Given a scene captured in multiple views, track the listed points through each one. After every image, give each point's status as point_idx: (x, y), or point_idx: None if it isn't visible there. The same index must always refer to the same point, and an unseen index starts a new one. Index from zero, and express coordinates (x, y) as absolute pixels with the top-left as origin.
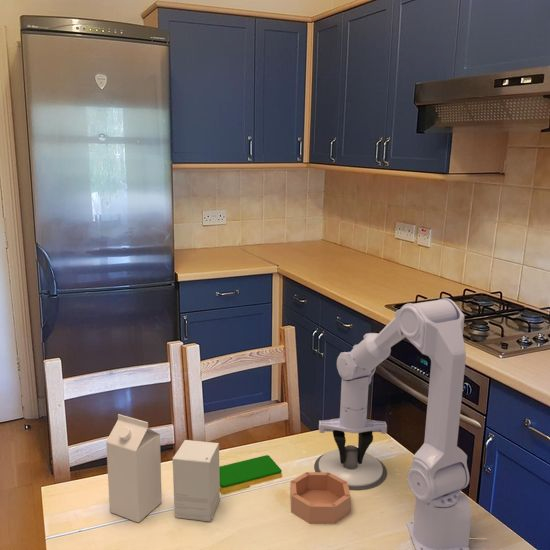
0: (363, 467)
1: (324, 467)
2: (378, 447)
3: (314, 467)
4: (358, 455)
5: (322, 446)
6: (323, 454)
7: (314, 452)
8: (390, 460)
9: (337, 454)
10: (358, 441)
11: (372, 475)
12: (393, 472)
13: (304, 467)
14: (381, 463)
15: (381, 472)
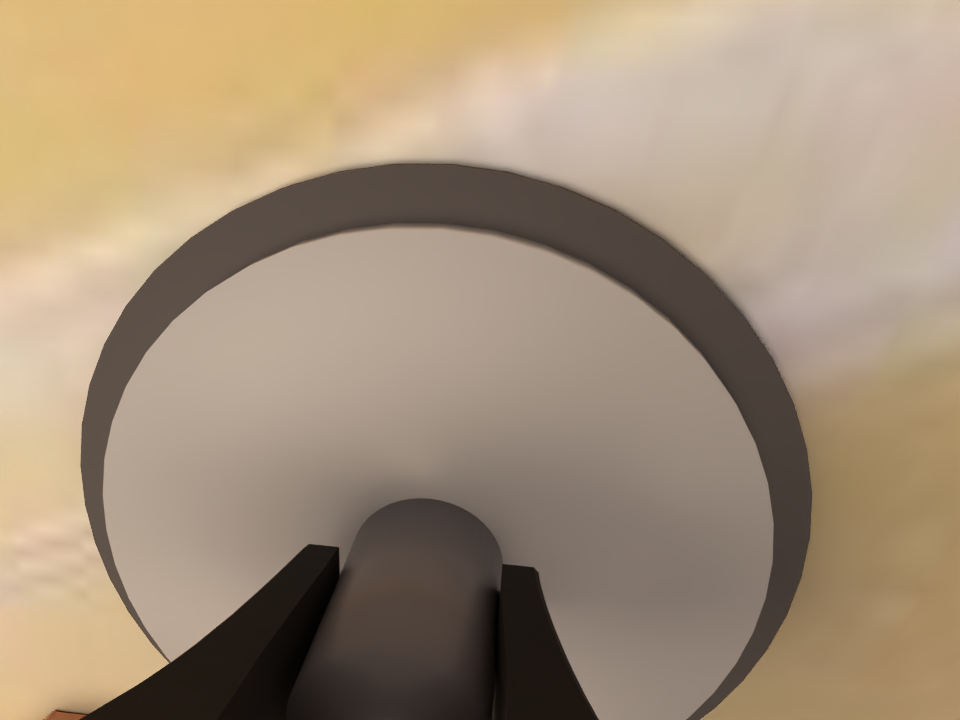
0: (555, 601)
1: (162, 571)
2: (951, 68)
3: (86, 492)
4: (496, 670)
5: (161, 13)
6: (166, 262)
7: (71, 168)
8: (944, 391)
9: (310, 353)
10: (506, 717)
11: (604, 715)
12: (857, 589)
13: (3, 446)
14: (796, 484)
15: (710, 687)
